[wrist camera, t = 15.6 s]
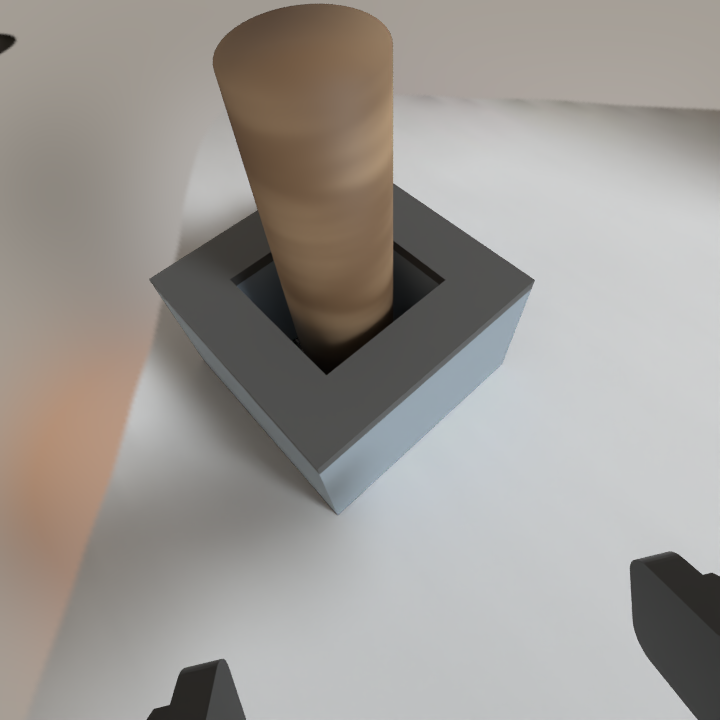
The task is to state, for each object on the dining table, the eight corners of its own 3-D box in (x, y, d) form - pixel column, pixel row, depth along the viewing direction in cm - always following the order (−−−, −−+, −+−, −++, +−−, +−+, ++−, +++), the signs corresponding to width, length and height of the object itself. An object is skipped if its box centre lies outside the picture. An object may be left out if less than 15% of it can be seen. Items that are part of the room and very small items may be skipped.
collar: (357, 248, 26) (348, 152, 21) (501, 363, 22) (534, 280, 17) (203, 359, 23) (148, 279, 18) (337, 515, 19) (317, 469, 14)
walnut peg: (354, 313, 24) (314, -13, 12) (411, 363, 23) (431, 44, 11) (291, 361, 23) (179, 53, 11) (346, 418, 21) (286, 128, 9)
